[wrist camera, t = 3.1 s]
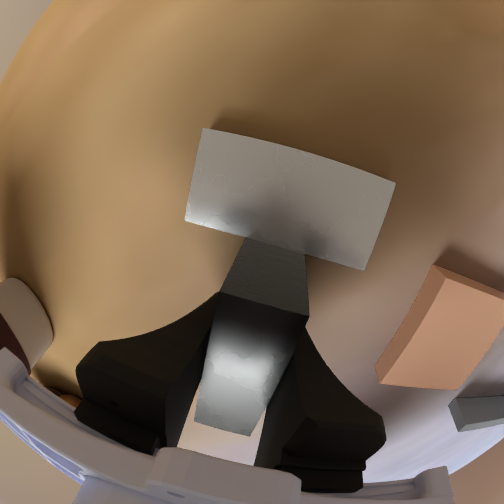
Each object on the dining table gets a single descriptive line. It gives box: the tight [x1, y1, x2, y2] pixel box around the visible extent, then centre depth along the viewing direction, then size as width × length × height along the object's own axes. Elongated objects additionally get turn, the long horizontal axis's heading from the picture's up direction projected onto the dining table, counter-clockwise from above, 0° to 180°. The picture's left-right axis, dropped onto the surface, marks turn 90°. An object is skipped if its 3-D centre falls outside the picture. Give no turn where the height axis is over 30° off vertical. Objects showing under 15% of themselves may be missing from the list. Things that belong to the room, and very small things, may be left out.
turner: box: [185, 128, 396, 436], centre depth 10 cm, size 11×8×6 cm
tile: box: [375, 264, 504, 390], centre depth 12 cm, size 7×7×2 cm
